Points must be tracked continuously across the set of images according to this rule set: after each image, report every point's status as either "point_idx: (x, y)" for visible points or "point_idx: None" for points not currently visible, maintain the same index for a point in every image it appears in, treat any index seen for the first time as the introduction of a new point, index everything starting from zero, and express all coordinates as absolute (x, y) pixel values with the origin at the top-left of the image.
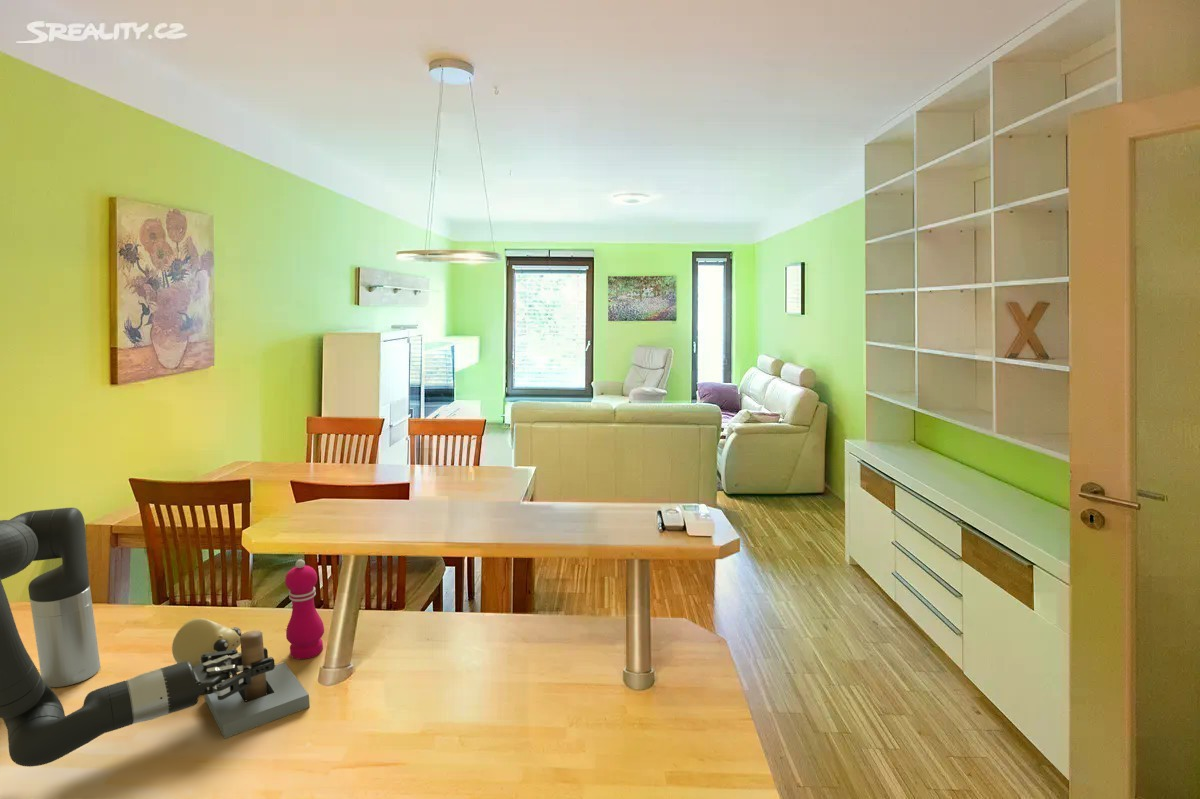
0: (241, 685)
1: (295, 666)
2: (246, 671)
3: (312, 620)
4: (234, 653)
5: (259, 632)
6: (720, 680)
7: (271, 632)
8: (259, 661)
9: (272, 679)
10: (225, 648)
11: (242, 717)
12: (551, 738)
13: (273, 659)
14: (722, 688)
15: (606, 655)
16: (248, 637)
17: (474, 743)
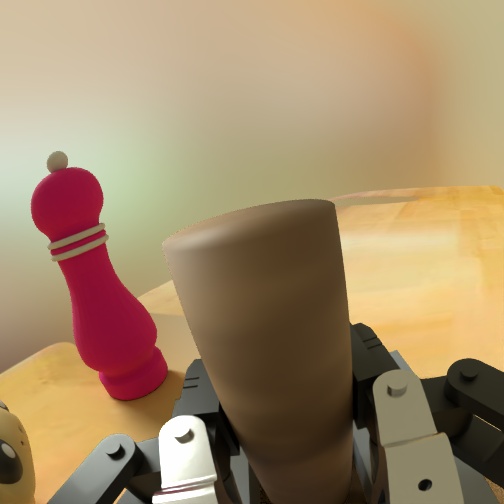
0: (484, 436)
1: (173, 402)
2: (478, 367)
3: (130, 293)
4: (136, 456)
5: (239, 212)
6: (410, 189)
7: (30, 398)
8: (355, 347)
9: None
10: (17, 463)
11: (485, 486)
12: (474, 213)
13: None
14: (418, 188)
15: (365, 206)
16: (275, 219)
17: (489, 233)
